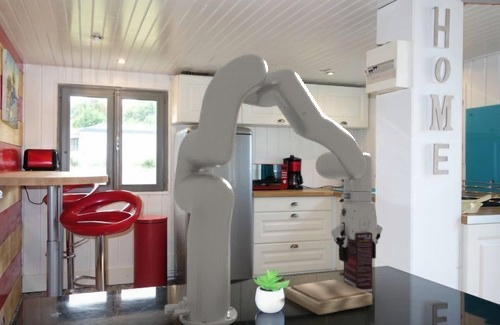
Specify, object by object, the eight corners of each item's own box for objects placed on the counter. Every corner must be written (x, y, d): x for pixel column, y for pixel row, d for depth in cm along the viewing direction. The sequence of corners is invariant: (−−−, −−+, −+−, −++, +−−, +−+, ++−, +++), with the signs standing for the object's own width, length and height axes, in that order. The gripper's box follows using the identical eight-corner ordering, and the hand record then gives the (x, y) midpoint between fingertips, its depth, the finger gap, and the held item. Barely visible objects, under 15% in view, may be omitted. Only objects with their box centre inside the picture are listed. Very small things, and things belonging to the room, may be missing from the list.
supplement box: (373, 292, 109) (373, 232, 109) (356, 293, 108) (356, 233, 108) (358, 283, 117) (358, 228, 117) (342, 284, 116) (342, 228, 116)
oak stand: (318, 314, 92) (318, 301, 92) (285, 297, 104) (285, 285, 104) (372, 304, 99) (372, 291, 99) (335, 288, 111) (335, 277, 112)
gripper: (341, 199, 105) (341, 265, 105) (390, 197, 113) (391, 259, 113) (323, 197, 112) (323, 259, 112) (371, 195, 120) (371, 253, 120)
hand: (357, 259), depth 112 cm, fingers open, 9 cm apart
